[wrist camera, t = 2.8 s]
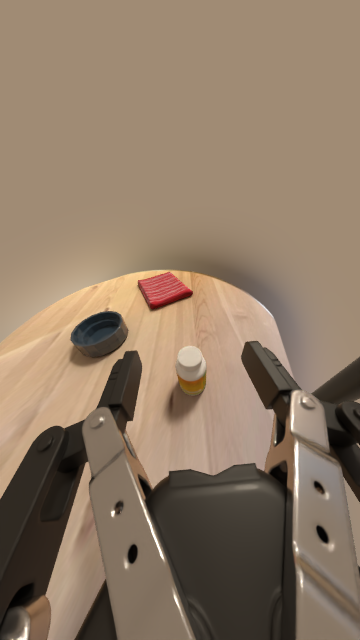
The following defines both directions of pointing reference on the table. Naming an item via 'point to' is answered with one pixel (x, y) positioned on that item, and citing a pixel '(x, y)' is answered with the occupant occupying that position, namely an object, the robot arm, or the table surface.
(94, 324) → the fruit bowl
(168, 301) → the dish towel
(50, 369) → the table surface
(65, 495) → the robot arm
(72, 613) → the table surface
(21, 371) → the table surface
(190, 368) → the supplement bottle
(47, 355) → the table surface
